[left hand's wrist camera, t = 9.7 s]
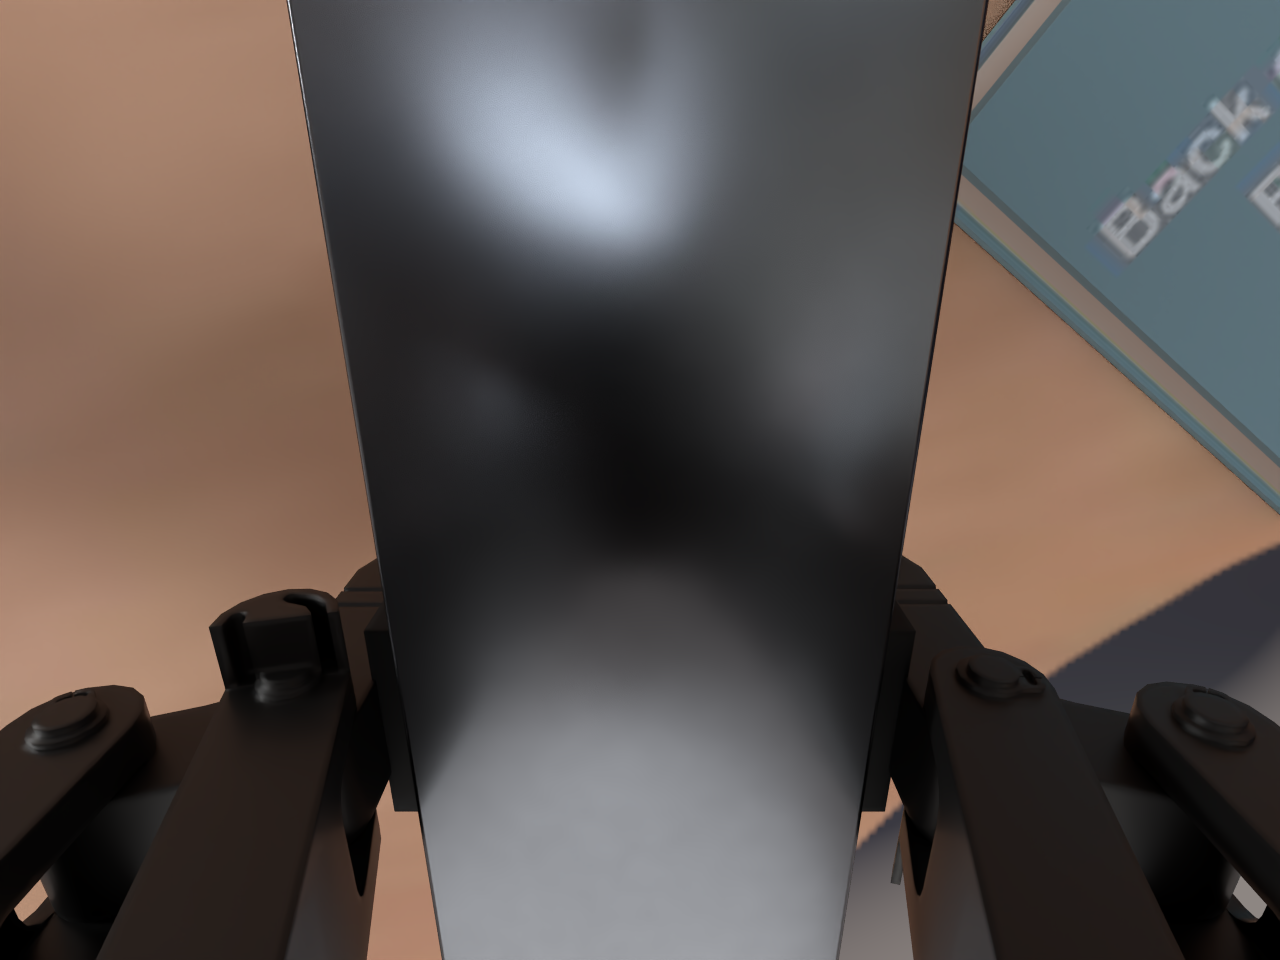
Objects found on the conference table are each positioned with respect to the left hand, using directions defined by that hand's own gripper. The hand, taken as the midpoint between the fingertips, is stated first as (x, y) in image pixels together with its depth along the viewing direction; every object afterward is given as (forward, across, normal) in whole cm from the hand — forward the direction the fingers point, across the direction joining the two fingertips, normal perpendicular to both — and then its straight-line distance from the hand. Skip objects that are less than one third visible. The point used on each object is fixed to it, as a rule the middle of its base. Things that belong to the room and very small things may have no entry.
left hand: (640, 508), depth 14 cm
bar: (+1, 0, -8) cm, 8 cm away
